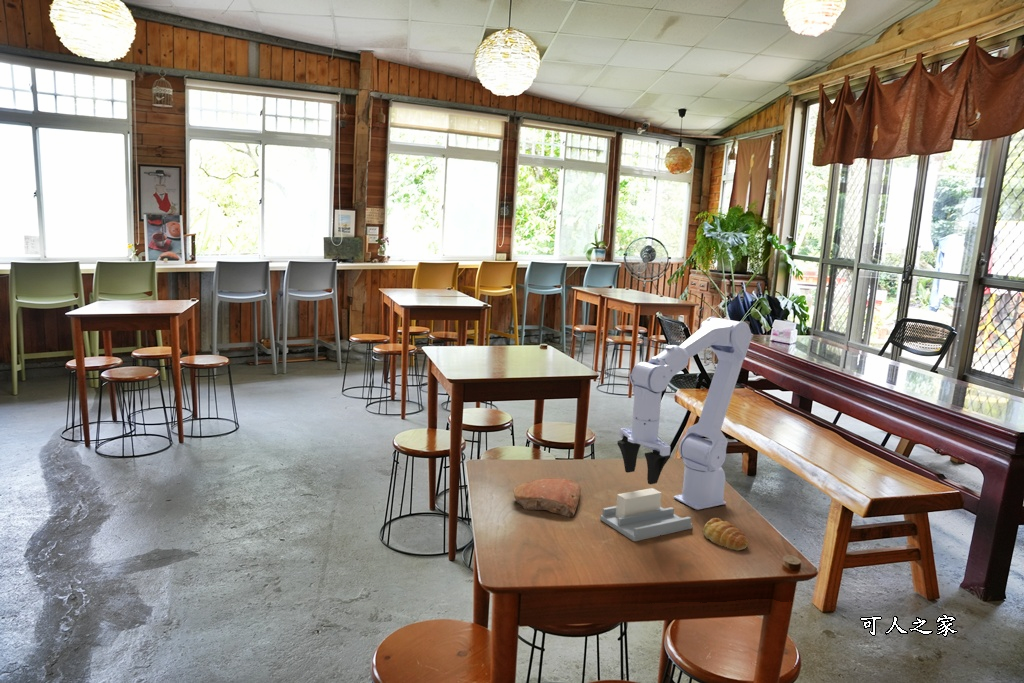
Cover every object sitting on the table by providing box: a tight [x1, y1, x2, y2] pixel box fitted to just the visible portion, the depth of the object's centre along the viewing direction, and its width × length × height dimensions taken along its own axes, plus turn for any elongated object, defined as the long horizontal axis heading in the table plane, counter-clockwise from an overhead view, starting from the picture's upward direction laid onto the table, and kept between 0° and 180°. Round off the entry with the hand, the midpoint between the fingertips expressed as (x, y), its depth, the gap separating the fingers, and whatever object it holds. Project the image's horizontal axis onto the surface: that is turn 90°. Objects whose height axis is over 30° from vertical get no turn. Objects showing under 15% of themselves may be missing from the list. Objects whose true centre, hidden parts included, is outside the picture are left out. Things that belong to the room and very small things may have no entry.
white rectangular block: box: [615, 487, 663, 518], centre depth 152 cm, size 10×3×5 cm, turn 119°
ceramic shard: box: [513, 478, 582, 518], centre depth 160 cm, size 15×6×15 cm
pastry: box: [702, 517, 749, 551], centre depth 144 cm, size 9×7×4 cm
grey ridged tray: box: [599, 505, 693, 542], centre depth 150 cm, size 16×12×2 cm
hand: (640, 477), depth 152 cm, fingers open, 7 cm apart
